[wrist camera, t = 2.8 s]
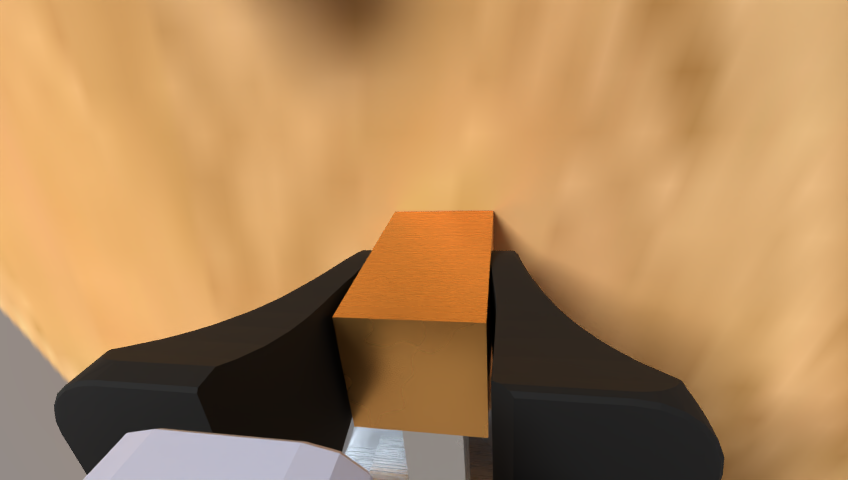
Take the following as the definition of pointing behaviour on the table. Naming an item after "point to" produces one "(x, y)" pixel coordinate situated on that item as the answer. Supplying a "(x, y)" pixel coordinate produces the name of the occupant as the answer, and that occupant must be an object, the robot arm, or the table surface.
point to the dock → (387, 453)
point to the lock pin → (423, 338)
